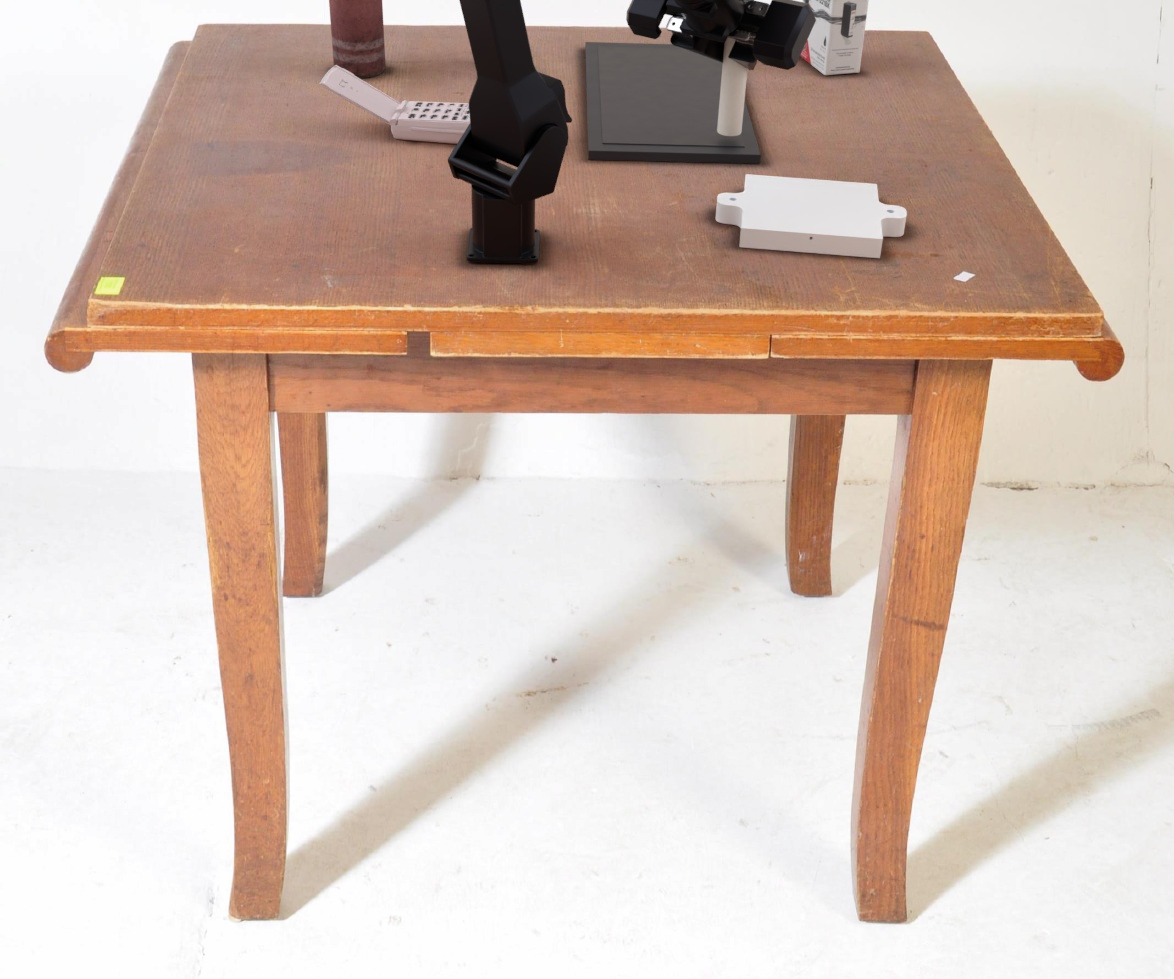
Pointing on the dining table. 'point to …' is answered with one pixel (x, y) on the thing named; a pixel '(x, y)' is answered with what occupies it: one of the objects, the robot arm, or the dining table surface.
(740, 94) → the white plastic rod
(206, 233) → the dining table surface
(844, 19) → the ink box
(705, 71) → the tablet
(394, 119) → the mobile phone
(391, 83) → the dining table surface
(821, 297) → the dining table surface
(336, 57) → the can
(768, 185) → the mounting plate
